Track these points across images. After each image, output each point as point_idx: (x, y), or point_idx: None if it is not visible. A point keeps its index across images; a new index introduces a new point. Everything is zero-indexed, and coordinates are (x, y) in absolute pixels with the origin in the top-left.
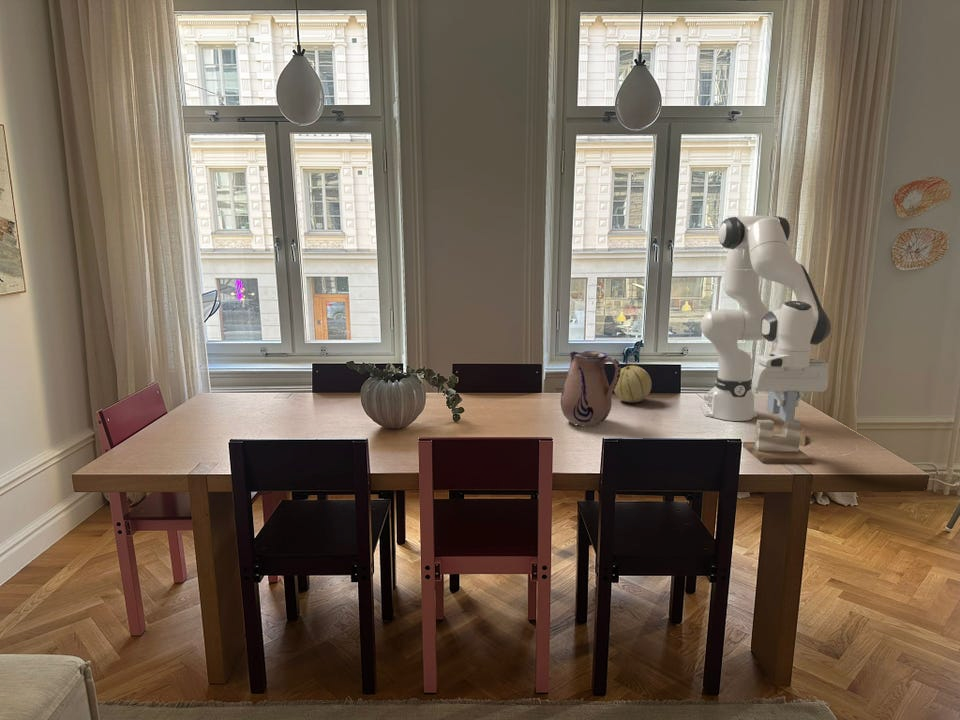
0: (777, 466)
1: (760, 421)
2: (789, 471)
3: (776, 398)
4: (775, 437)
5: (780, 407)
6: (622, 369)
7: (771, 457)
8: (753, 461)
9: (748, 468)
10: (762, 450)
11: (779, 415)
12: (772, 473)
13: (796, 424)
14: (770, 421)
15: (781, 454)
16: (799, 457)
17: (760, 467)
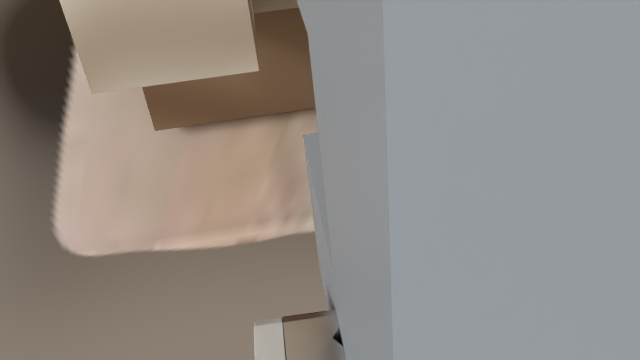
0: (239, 150)
1: (96, 57)
2: (282, 208)
3: (323, 146)
4: (279, 8)
5: (323, 231)
6: None
7: (215, 109)
8: (104, 92)
9: (61, 206)
10: None
11: (308, 156)
12: (184, 246)
13: None
14: (224, 37)
15: (304, 39)
16: None
17: (134, 181)
